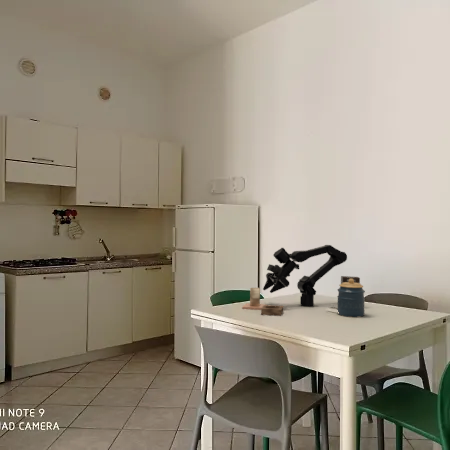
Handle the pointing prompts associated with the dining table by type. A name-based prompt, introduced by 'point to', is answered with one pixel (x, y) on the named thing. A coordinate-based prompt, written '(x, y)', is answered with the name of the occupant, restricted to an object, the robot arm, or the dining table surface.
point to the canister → (351, 299)
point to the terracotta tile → (247, 306)
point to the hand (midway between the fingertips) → (266, 291)
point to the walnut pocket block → (272, 310)
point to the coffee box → (346, 278)
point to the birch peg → (255, 297)
